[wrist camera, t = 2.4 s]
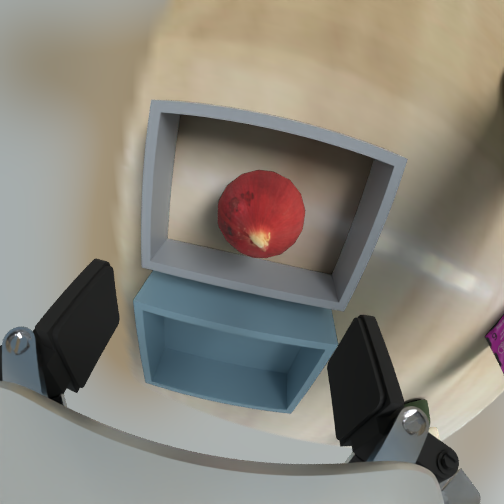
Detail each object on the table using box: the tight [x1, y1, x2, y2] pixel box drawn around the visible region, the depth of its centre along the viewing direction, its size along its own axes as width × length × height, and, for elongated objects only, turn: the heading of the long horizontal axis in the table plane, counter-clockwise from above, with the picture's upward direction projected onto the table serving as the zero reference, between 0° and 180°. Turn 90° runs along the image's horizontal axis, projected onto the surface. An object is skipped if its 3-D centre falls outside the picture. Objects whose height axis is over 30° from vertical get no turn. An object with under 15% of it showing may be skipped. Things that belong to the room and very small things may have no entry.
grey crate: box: [141, 100, 407, 311], centre depth 20 cm, size 13×17×4 cm
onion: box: [218, 170, 305, 258], centre depth 18 cm, size 6×6×8 cm
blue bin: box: [133, 270, 338, 414], centre depth 26 cm, size 13×17×6 cm
